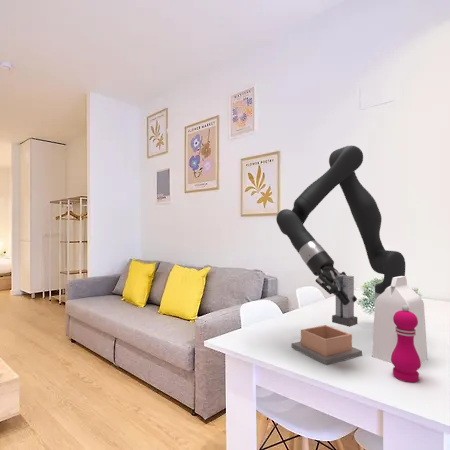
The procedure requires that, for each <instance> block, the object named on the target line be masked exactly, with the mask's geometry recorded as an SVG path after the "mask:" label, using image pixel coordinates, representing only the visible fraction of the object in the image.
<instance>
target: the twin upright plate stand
mask: <svg viewBox="0 0 450 450" xmlns="http://www.w3.org/2000/svg"><path fill="white" fill-rule="evenodd" d="M346 275H347V274H346ZM346 275H337V276H336V281H337V282H338V285H339V287H340V288H341V291H343V292H344V294H345V295H346V296H347V297H348V298H349V300H350V302H349V303H348V304H347V305H343V303H342V302H341V301H340V299H339V298H338V297H337V296H336V295H335V314H333V315H332V316H331V322H332V323H333V324H337V325H341V326H345V327H348V328H349V327H353V326H355V325H358V316H355V309H354V308H355V302H354V296H355V289H354V288H355V287H354V285H355V280H354V279H355V277H354V276H353V275H347V276H346Z"/></svg>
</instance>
